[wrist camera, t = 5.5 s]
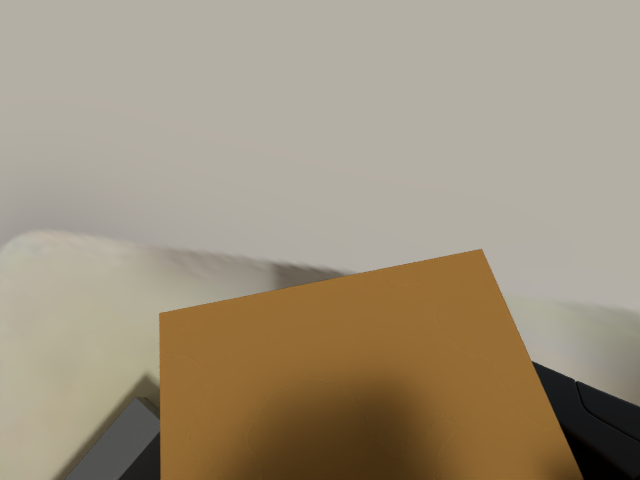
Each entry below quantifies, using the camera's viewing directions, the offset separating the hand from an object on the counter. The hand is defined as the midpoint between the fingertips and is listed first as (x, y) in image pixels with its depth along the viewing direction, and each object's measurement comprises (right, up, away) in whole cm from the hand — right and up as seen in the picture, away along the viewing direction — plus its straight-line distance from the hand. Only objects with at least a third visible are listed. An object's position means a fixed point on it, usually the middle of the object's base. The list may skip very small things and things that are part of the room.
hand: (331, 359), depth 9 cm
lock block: (0, -4, +5) cm, 7 cm away
